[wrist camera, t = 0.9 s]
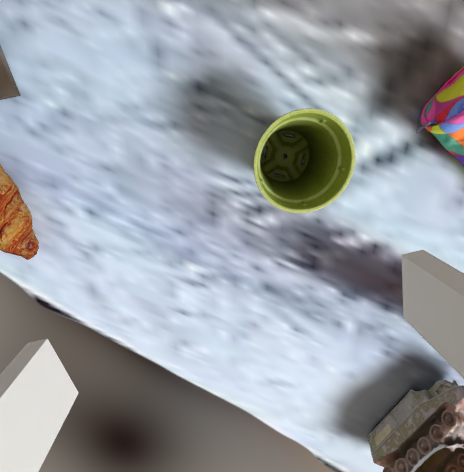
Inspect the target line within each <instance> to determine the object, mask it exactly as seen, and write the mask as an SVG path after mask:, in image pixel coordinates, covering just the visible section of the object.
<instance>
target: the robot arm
mask: <svg viewBox="0 0 464 472" xmlns="http://www.w3.org/2000/svg"><path fill="white" fill-rule="evenodd" d="M402 280H403V313H404V319H405V320H406V321H407V322H408V323H409V324H410V325H411V326H412V327H413V328H414V329H415V330H416V331H417V332H418V333H419V334H420V335H421V336H422V337H423V338H424V339H425V340H426V341H427V342H428V343H429V344H430V345H431V346H432V347H433V348H434V349H435V350H436V351H437V352H438V353H439V354H440V355H441V356H442V357H443V358H444V359H445V360H446V361H447V362H448V363H449V364H450V365H451V366H452V367H453V368H454V369H455V370H456V371H457V372H458V373H459V374H460V375H461V376H462V377H463V378H464V273H462V272H460V271H459V270H457V269H455V268H453V267H452V266H450V265H448V264H447V263H445V262H443V261H441V260H440V259H438V258H436V257H435V256H433V255H431V254H429V253H428V252H426V251H424V250H420V251H416V252H412V253H408V254H403V255H402ZM77 395H78V391H77V389H76V388H75V386H74V384H73V382H72V381H71V379H70V377H69V375H68V374H67V372H66V370H65V369H64V367H63V365H62V363H61V362H60V360H59V358H58V356H57V355H56V353H55V351H54V349H53V347H52V346H51V344H50V343H49V340H48V339H44V340H40V341H35V342H31V343H27V345H26V346H25V347H24V348H23V349H22V350H21V352H20V353H19V354H18V355H17V356H16V357H15V358H14V360H13V361H12V362H11V363H10V364H9V365H8V366H7V368H6V369H5V370H4V371H3V372H2V373H1V375H0V472H38V471H39V469H40V467H41V465H42V463H43V461H44V459H45V457H46V456H47V454H48V452H49V450H50V448H51V445H52V444H53V442H54V440H55V438H56V436H57V434H58V432H59V430H60V428H61V426H62V424H63V422H64V420H65V418H66V416H67V414H68V413H69V411H70V409H71V407H72V405H73V403H74V401H75V399H76V397H77Z"/></svg>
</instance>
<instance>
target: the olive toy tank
mask: <svg viewBox="0 0 464 472" xmlns="http://www.w3.org/2000/svg"><path fill="white" fill-rule="evenodd" d="M368 438H369V443H370V448H371V453H372V454H371V455H372V458H373V461H374V463H375V464H378V465H380V466H383V467H384V469H383V472H464V386H458V384H457V383H456V381H455V380H453V382H452V383H451V382H449V381H447V380H443V381H441V380H439V381H437V382H436V383H435V384H434V385H433V386H432V387H431V388H430V389H429V390H421V391H414V390H412V389H411V390H410V391H409V392H408V393H407V394H406V396H405V397H404V398H403V399H402V400H401V401H400V403H399V404H398V405H396V407H395V408H393V410H391V412H390V413H389V414H388V415H387V416H386V417H385V418H384V419H383V420H382V421H381V422H380V423H379V424H378V425H377V427H375V429H374V430H373V431H372V432H371V433H370V434H369V435H368Z"/></svg>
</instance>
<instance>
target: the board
mask: <svg viewBox="0 0 464 472" xmlns="http://www.w3.org/2000/svg"><path fill="white" fill-rule="evenodd" d="M16 96H20V93H19V91H18V88H17V86H16V83H15V81H14V78H13V76H12V73H11V71H10V68H9V66H8V64H7V61H6V59H5V56H4V54H3V51H2V49H1V46H0V100H2V99H7V98H11V97H16Z"/></svg>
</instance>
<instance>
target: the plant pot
mask: <svg viewBox="0 0 464 472" xmlns="http://www.w3.org/2000/svg"><path fill="white" fill-rule="evenodd" d="M284 134H292V135H294V136H295V138H291V137H286V136H283V135H284ZM265 147H268V149H267V153H266V158H265V159H264V157H263V156H264V149H265ZM284 154H287V158H286V159H284V158H283V155H284ZM303 154H305V155H306V158H305V162H304V164H303V165H301V162H302V160H303ZM354 167H355V147H354V142H353V139H352V137H351V134H350V133H349V131H348V129H347V128H346V126H345V125H344V124H343V122H342V121H341V120H339V119H338V118H337V117H336V116H334V115H332V114H330V113H328V112H326V111H323V110H319V109H312V108H307V109H299V110H295V111H292V112H289V113H287V114H285V115H283V116H282V117H280V118H278V119H277V120H276V121H274V122H273V123H272V124H271V125H270V126H269V127H268V128H267V129H266V131H265V132H264V134H263V135H262V137H261V139H260V140H259V142H258V145H257V148H256V151H255V155H254V176H255V180H256V183H257V186H258V188H259V190H260V191H261V193H262V195H263V196H264V197H265V198H266V199H267V200H268V201H269V202H270V203H271V204H272V205H274V206H275V207H277V208H279V209H281V210H284V211H287V212H292V213H307V212H312V211H316V210H319V209H321V208H323V207H325V206H327V205H329V204H330V203H332V202H333V201H334V200H335V199H337V198H338V197H339V196H340V195H341V193H342V192H343V191H344V190H345V188H346V187H347V185H348V183H349V181H350V179H351V177H352V174H353V171H354ZM275 173H277V174H280V175H285V177H284V178H280V177H276V176H275V175H274V174H275Z"/></svg>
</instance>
